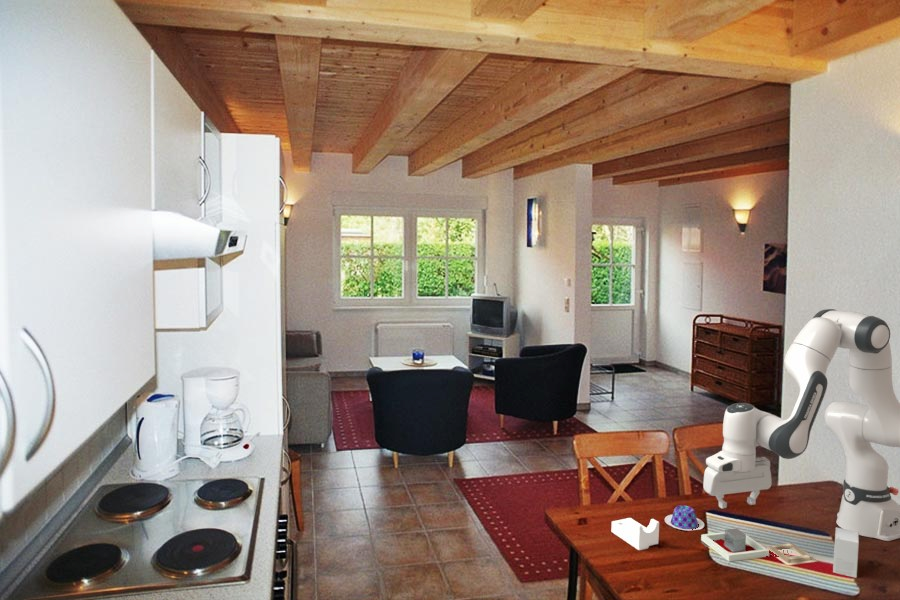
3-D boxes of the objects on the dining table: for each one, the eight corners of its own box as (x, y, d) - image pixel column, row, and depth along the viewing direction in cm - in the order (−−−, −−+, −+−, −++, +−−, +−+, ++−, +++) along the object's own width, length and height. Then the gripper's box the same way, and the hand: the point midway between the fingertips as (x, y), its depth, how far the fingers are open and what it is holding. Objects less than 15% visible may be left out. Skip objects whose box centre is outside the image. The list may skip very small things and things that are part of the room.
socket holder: (792, 547, 193) (792, 541, 193) (818, 563, 183) (818, 557, 183) (762, 550, 191) (763, 544, 191) (787, 567, 181) (787, 561, 181)
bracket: (658, 546, 194) (659, 522, 193) (638, 551, 191) (639, 526, 190) (629, 528, 206) (630, 505, 205) (611, 532, 203) (612, 509, 202)
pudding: (693, 536, 200) (693, 520, 200) (657, 524, 209) (657, 508, 208) (711, 524, 209) (711, 508, 208) (675, 512, 217) (676, 497, 217)
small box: (856, 580, 175) (859, 543, 173) (832, 575, 178) (834, 537, 176) (856, 567, 181) (859, 531, 180) (833, 562, 184) (835, 526, 183)
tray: (739, 538, 199) (739, 530, 198) (768, 558, 186) (769, 550, 186) (701, 542, 196) (701, 534, 196) (728, 564, 183) (729, 555, 183)
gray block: (736, 544, 193) (737, 528, 193) (745, 551, 189) (745, 534, 189) (724, 546, 192) (725, 529, 192) (732, 552, 189) (733, 535, 188)
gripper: (762, 452, 194) (760, 497, 195) (700, 459, 189) (699, 505, 191) (777, 460, 188) (775, 506, 189) (714, 467, 183) (712, 514, 185)
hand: (737, 505), depth 190 cm, fingers open, 8 cm apart
